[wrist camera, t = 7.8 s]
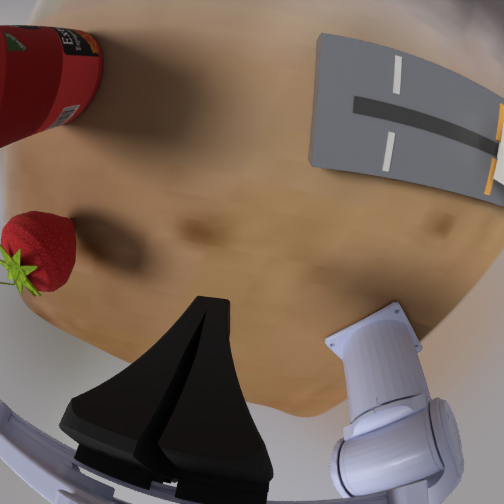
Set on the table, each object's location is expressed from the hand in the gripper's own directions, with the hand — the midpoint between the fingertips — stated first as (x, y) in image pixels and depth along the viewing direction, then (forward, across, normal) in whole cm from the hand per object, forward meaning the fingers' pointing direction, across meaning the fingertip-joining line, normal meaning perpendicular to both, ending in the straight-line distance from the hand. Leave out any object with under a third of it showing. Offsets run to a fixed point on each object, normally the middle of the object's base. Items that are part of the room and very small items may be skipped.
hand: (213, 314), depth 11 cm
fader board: (+9, -14, -9) cm, 19 cm away
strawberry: (+10, +16, +1) cm, 18 cm away
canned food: (+10, +14, -11) cm, 21 cm away
